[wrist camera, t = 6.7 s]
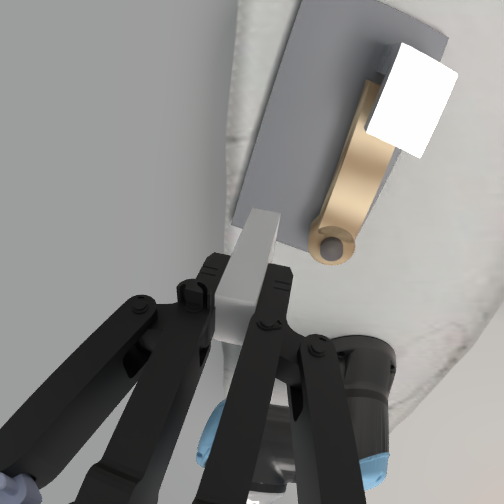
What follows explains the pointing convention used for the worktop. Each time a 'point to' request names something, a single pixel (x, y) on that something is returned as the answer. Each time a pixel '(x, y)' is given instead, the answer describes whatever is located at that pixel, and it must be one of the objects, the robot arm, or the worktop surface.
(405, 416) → the worktop surface
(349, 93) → the board
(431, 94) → the block
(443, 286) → the worktop surface
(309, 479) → the robot arm
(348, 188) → the brass link
